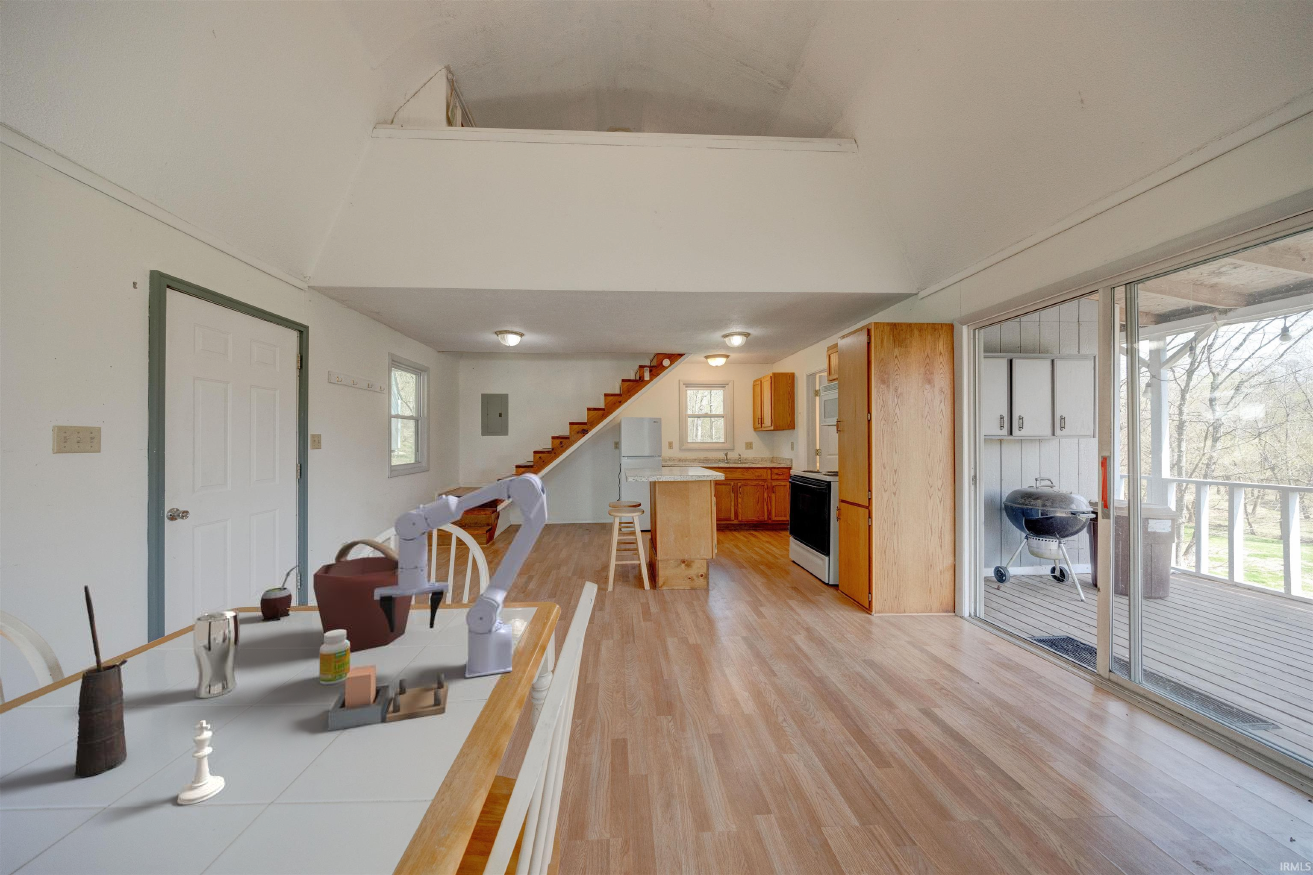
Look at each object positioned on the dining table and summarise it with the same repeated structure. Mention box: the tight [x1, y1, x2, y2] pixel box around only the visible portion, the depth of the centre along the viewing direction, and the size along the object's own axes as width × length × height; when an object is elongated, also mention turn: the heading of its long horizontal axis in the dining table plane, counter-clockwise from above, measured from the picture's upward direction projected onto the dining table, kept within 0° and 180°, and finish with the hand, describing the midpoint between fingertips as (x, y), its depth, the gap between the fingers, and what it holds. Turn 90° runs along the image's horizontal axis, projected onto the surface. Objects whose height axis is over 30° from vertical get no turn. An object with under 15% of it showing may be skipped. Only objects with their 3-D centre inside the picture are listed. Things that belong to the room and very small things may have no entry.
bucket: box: [312, 539, 414, 654], centre depth 125 cm, size 24×22×25 cm
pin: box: [344, 664, 377, 708], centre depth 90 cm, size 4×4×8 cm
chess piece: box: [177, 719, 226, 806], centre depth 70 cm, size 5×5×10 cm
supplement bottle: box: [318, 629, 351, 685], centre depth 104 cm, size 5×5×10 cm
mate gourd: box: [259, 564, 300, 622], centre depth 140 cm, size 8×8×15 cm
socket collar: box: [328, 684, 391, 732], centre depth 90 cm, size 8×8×3 cm
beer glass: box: [192, 609, 241, 699], centre depth 99 cm, size 7×7×15 cm
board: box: [385, 673, 450, 723], centre depth 93 cm, size 10×10×4 cm
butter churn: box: [74, 584, 128, 778], centre depth 77 cm, size 9×10×28 cm
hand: (412, 628), depth 107 cm, fingers open, 7 cm apart
